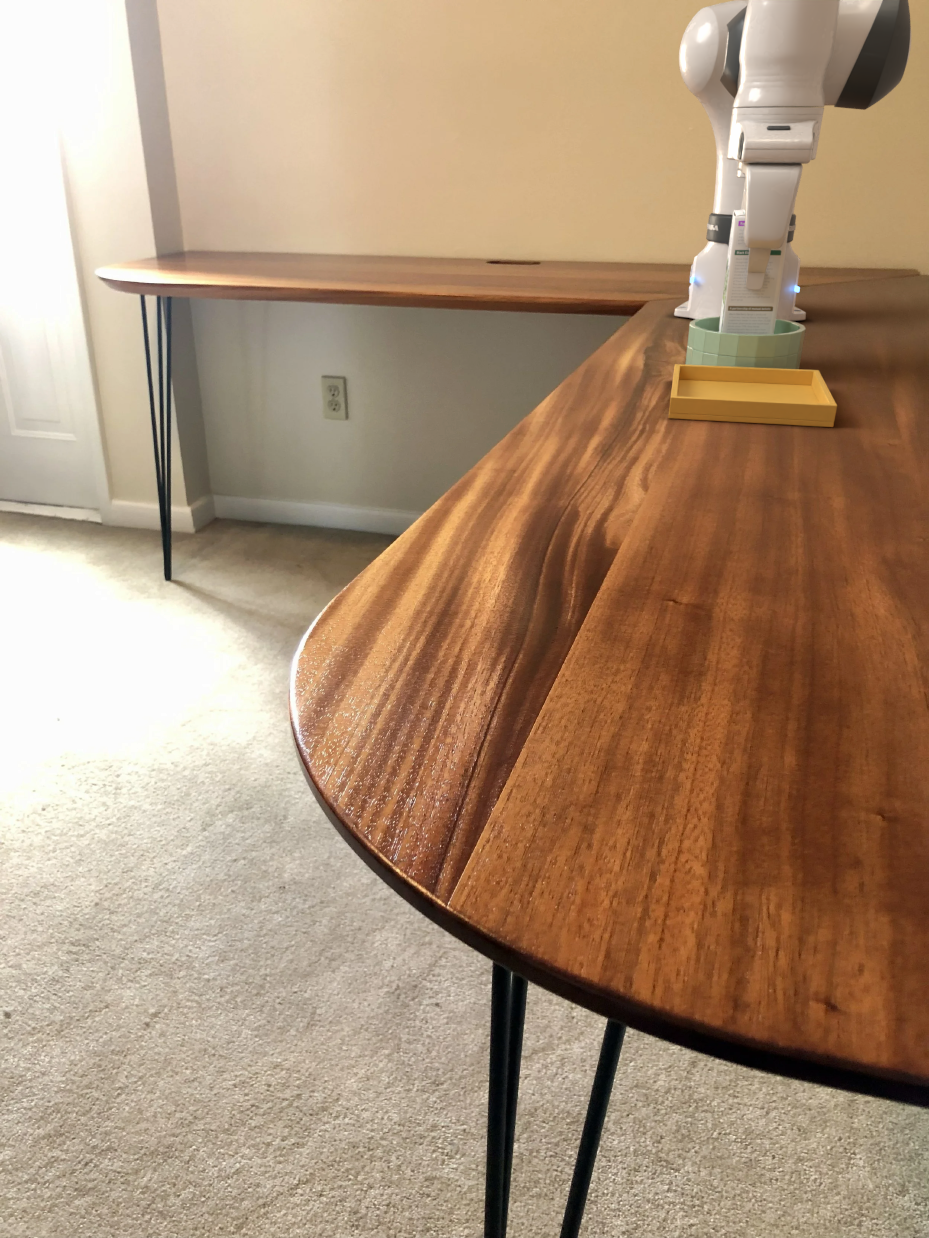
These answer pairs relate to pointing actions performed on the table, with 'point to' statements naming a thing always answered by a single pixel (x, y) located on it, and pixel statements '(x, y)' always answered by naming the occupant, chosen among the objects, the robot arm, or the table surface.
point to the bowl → (745, 346)
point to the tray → (751, 395)
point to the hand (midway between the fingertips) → (751, 283)
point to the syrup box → (740, 304)
